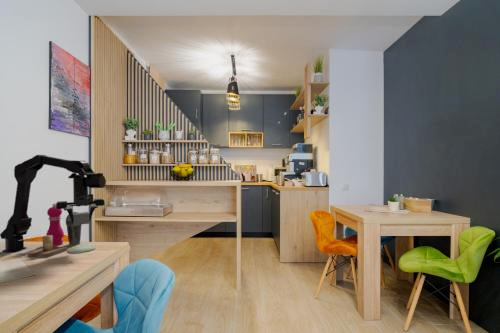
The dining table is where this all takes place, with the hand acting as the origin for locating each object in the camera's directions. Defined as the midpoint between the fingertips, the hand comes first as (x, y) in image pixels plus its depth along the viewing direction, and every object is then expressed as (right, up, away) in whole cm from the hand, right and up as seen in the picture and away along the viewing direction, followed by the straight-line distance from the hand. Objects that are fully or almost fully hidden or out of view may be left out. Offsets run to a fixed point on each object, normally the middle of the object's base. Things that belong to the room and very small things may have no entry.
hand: (81, 222), depth 133 cm
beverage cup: (-9, -13, +10) cm, 18 cm away
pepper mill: (-18, -13, +10) cm, 24 cm away
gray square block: (0, 0, 0) cm, 0 cm away
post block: (-12, -13, -5) cm, 18 cm away
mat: (0, -12, 0) cm, 12 cm away
